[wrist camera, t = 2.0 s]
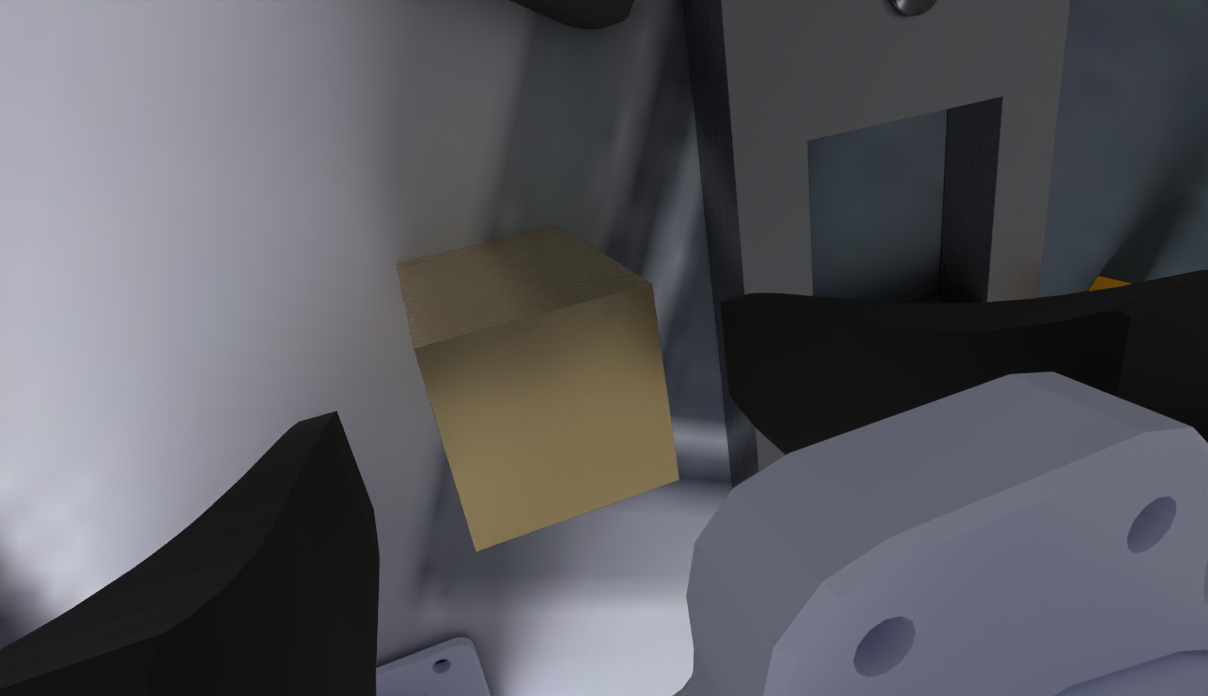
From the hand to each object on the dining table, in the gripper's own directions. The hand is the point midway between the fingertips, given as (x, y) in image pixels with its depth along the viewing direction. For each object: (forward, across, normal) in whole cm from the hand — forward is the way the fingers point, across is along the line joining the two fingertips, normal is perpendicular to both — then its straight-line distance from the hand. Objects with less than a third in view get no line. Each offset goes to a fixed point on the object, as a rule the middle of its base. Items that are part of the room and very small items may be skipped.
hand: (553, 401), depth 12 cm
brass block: (+5, 0, 0) cm, 5 cm away
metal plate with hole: (+5, -11, 0) cm, 12 cm away
